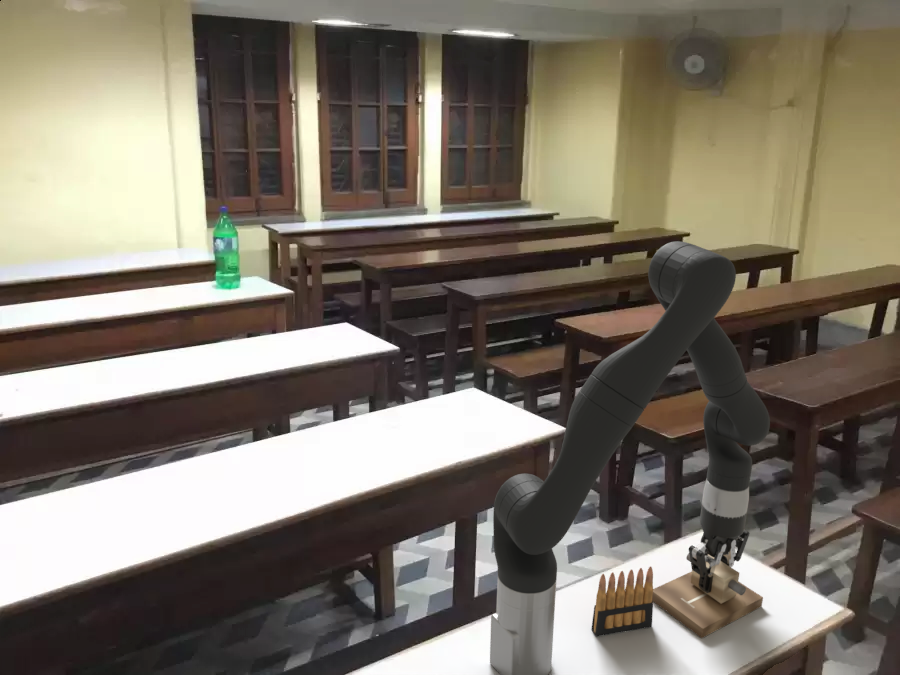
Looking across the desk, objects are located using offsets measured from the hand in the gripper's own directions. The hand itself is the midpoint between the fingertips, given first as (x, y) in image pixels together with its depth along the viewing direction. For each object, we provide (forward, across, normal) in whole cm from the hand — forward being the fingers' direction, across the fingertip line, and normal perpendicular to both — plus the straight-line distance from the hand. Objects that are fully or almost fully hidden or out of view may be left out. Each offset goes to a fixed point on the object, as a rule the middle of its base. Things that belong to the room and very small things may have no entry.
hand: (713, 585), depth 135 cm
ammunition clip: (+3, -20, +3) cm, 20 cm away
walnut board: (+3, -2, 0) cm, 4 cm away
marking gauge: (+1, 0, 0) cm, 1 cm away
